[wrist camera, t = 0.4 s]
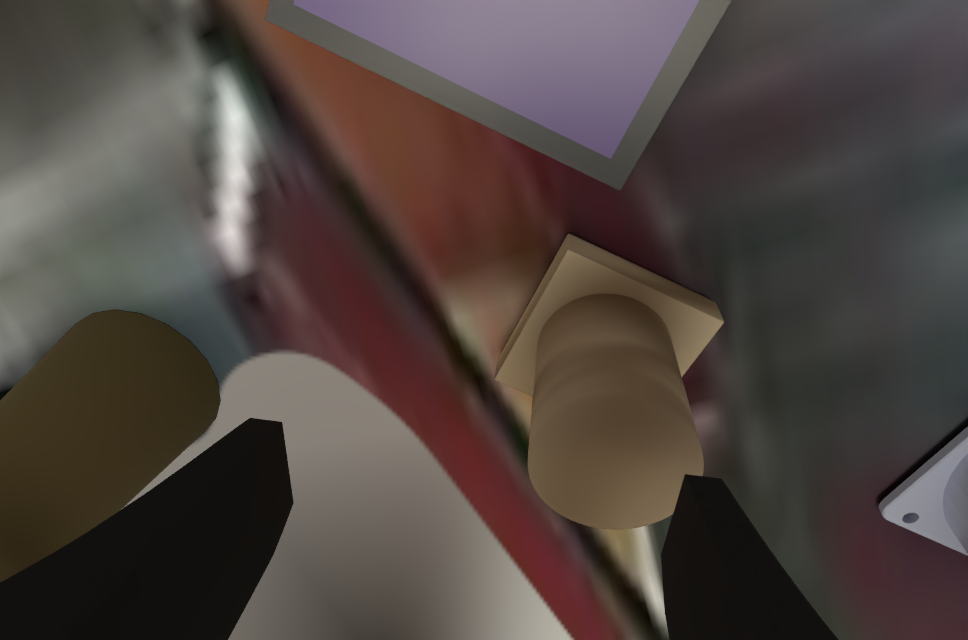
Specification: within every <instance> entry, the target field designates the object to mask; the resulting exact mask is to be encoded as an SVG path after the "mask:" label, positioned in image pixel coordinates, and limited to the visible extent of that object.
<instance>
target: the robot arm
mask: <svg viewBox="0 0 968 640" xmlns="http://www.w3.org/2000/svg"><path fill="white" fill-rule="evenodd" d="M292 505H293V496H292V489H291V482H290V475H289V468H288V461H287V454H286V447H285V440H284V433H283V426H282V422H277V421H270V420H262V419H254V418H249V419H248V420H247V421H245V422H244V423H242V424H241V425H239V426H238V427H237V428H235V429H234V430H233V431H231V432H230V433H228V434H227V435H226V436H224V437H223V438H222V439H220V440H219V441H217V442H216V443H215V444H213V445H212V446H211V447H209V448H208V449H207V450H206V451H204V452H203V453H201V454H200V455H199V456H197V457H196V458H194V459H193V460H192V461H190V462H189V463H188V464H186V465H185V466H183V467H182V468H181V469H179V470H178V471H177V472H175V473H174V474H172V475H171V476H170V477H168V478H167V479H165V480H164V481H163V482H161V483H160V484H158V485H157V486H156V487H154V488H153V489H151V490H150V491H149V492H147V493H146V494H144V495H143V496H141V497H140V498H138V499H137V500H135V501H134V502H132V503H131V504H129V505H128V506H126V507H124V508H123V509H121V510H120V511H118V512H117V513H115V514H114V515H112V516H111V517H109V518H108V519H106V520H105V521H103V522H102V523H100V524H99V525H97V526H96V527H94V528H93V529H91V530H90V531H88V532H87V533H85V534H83V535H82V536H80V537H78V538H77V539H75V540H74V541H72V542H70V543H69V544H67V545H65V546H64V547H62V548H60V549H59V550H57V551H55V552H54V553H52V554H50V555H48V556H47V557H45V558H43V559H41V560H40V561H38V562H36V563H34V564H32V565H31V566H29V567H27V568H25V569H24V570H22V571H20V572H18V573H17V574H15V575H13V576H11V577H9V578H7V579H6V580H4V581H2V582H0V640H228V638H229V636H230V635H231V633H232V631H233V629H234V627H235V625H236V623H237V622H238V620H239V618H240V616H241V614H242V613H243V611H244V609H245V607H246V605H247V603H248V601H249V600H250V598H251V596H252V594H253V592H254V590H255V588H256V586H257V585H258V583H259V581H260V579H261V577H262V575H263V573H264V572H265V570H266V568H267V566H268V564H269V562H270V560H271V558H272V556H273V554H274V552H275V549H276V547H277V544H278V542H279V539H280V537H281V534H282V532H283V529H284V527H285V524H286V521H287V519H288V516H289V513H290V511H291V508H292ZM879 510H880V512H881V514H882V515H883V517H884V518H885V519H886V520H888V521H890V522H892V523H895V524H897V525H899V526H901V527H904V528H906V529H908V530H910V531H913V532H915V533H917V534H920V535H922V536H924V537H926V538H929V539H931V540H933V541H935V542H938V543H940V544H942V545H945V546H947V547H949V548H951V549H954V550H956V551H958V552H961V553H963V554H965V555H967V556H968V427H966V428H965V429H964V430H963V431H962V432H961V433H959V434H958V435H957V436H956V437H955V438H954V439H953V440H951V441H950V442H949V443H948V444H947V445H946V446H944V447H943V448H942V449H941V450H940V451H939V452H937V453H936V454H935V455H934V456H933V457H932V458H930V459H929V460H928V461H927V462H926V463H925V464H924V465H922V466H921V467H920V468H919V469H918V470H917V471H915V472H914V473H913V474H912V475H911V476H910V477H908V478H907V479H906V480H905V481H904V482H903V483H901V484H900V485H899V486H898V487H897V488H896V489H895V490H893V491H892V492H891V493H890V494H889V495H888V496H886V497H885V498H884V499H883V500H882V501H881V502H880V504H879ZM908 513H909V514H908ZM661 560H662V577H663V592H664V605H665V615H666V621H667V627H668V633H669V638H670V640H838V639H837V637H836V636H835V635H834V634H833V632H832V631H831V630H830V629H829V627H828V626H827V625H826V624H825V623H824V621H823V620H822V619H821V617H820V616H819V615H818V614H817V612H816V611H815V610H814V608H813V607H812V606H811V605H810V603H809V602H808V601H807V599H806V598H805V597H804V595H803V594H802V593H801V591H800V590H799V589H798V587H797V586H796V585H795V583H794V582H793V581H792V579H791V578H790V576H789V575H788V574H787V572H786V571H785V570H784V568H783V567H782V566H781V564H780V563H779V562H778V560H777V559H776V557H775V556H774V555H773V553H772V552H771V550H770V549H769V547H768V546H767V545H766V543H765V542H764V540H763V539H762V537H761V536H760V534H759V533H758V532H757V530H756V529H755V527H754V526H753V524H752V523H751V521H750V520H749V518H748V517H747V515H746V514H745V512H744V511H743V509H742V508H741V507H740V505H739V504H738V502H737V501H736V499H735V498H734V496H733V495H732V493H731V492H730V490H729V489H728V487H727V486H726V484H725V483H724V482H723V480H722V479H719V478H711V477H704V476H696V475H688V474H685V475H684V479H683V482H682V486H681V489H680V492H679V496H678V499H677V502H676V506H675V509H674V513H673V516H672V519H671V523H670V526H669V530H668V533H667V536H666V540H665V543H664V547H663V550H662V553H661Z"/></svg>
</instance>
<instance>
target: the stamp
mask: <svg viewBox="0 0 968 640" xmlns="http://www.w3.org/2000/svg"><path fill="white" fill-rule="evenodd" d="M723 323H724V320H723V318H722V316H721V314H720V311H719V309H718V307H717V304H716V302H713V301H711V300H709V298H707V297H705V296H703V295H700V294H698V293H696V292H694V291H692V290H690V289H688V288H685V287H683V286H681V285H679V284H677V283H675V282H673V281H671V280H668V279H666V278H664V277H662V276H660V275H658V274H656V273H653V272H651V271H649V270H647V269H645V268H643V267H641V266H639V265H636V264H634V263H632V262H630V261H628V260H626V259H624V258H621V257H619V256H617V255H615V254H613V253H611V252H609V251H607V250H604V249H602V248H600V247H598V246H596V245H594V244H592V243H589V242H587V241H585V240H583V239H581V238H579V237H577V236H575V235H572V234H570V233H569V234H568V235H567V236H566V238H565V240H564V242H563V244H562V245H561V247H560V249H559V251H558V252H557V254H556V256H555V258H554V260H553V261H552V263H551V265H550V267H549V269H548V270H547V272H546V274H545V276H544V278H543V279H542V281H541V283H540V285H539V286H538V288H537V290H536V292H535V294H534V295H533V297H532V299H531V301H530V303H529V304H528V306H527V308H526V310H525V312H524V313H523V315H522V317H521V319H520V321H519V322H518V324H517V326H516V328H515V329H514V331H513V333H512V335H511V337H510V338H509V340H508V342H507V344H506V346H505V347H504V349H503V351H502V353H501V355H500V356H499V358H498V362H497V368H496V373H495V379H494V380H497V381H499V382H501V383H503V384H506V385H508V386H510V387H513V388H515V389H517V390H520V391H522V392H524V393H527V394H529V395H531V396H533V403H532V415H531V427H530V439H529V451H528V472H529V477H530V480H531V483H532V485H533V487H534V489H535V491H536V492H537V494H538V495H539V496H540V498H541V499H542V500H543V501H544V502H545V503H546V504H547V505H548V506H549V507H550V508H552V509H553V510H554V511H556V512H557V513H559V514H560V515H562V516H564V517H566V518H568V519H570V520H572V521H574V522H577V523H580V524H583V525H587V526H591V527H596V528H602V529H630V528H637V527H642V526H646V525H649V524H653V523H656V522H658V521H660V520H663V519H665V518H667V517H669V516H670V515H672V514H673V513H674V509H675V506H676V502H677V499H678V496H679V492H680V489H681V486H682V482H683V479H684V475H685V474H688V475H696V476H703V470H704V459H703V454H702V449H701V446H700V442H699V438H698V435H697V431H696V428H695V424H694V420H693V417H692V413H691V409H690V406H689V402H688V399H687V395H686V391H685V388H684V384H683V380H682V376H683V375H684V374H685V372H686V371H687V370H688V368H689V367H690V366H691V365H692V363H693V362H694V361H695V359H696V358H697V357H698V356H699V354H700V353H701V352H702V350H703V349H704V348H705V346H706V345H707V344H708V343H709V341H710V340H711V339H712V337H713V336H714V335H715V334H716V332H717V331H718V330H719V328H720V327H721V326H722V325H723Z"/></svg>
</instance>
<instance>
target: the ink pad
mask: <svg viewBox="0 0 968 640" xmlns="http://www.w3.org/2000/svg"><path fill="white" fill-rule="evenodd" d="M730 2H731V0H269V2H268V7H267V11H266V16H265V20H267V21H269V22H271V23H273V24H275V25H277V26H279V27H281V28H283V29H285V30H287V31H289V32H291V33H293V34H296V35H298V36H300V37H302V38H304V39H306V40H308V41H310V42H312V43H314V44H316V45H318V46H320V47H323V48H325V49H327V50H329V51H331V52H333V53H335V54H337V55H339V56H341V57H343V58H345V59H347V60H350V61H352V62H354V63H356V64H358V65H360V66H362V67H364V68H366V69H368V70H370V71H372V72H374V73H377V74H379V75H381V76H383V77H385V78H387V79H389V80H391V81H393V82H395V83H397V84H399V85H401V86H403V87H406V88H408V89H410V90H412V91H414V92H416V93H418V94H420V95H422V96H424V97H426V98H428V99H430V100H433V101H435V102H437V103H439V104H441V105H443V106H445V107H447V108H449V109H451V110H453V111H455V112H457V113H460V114H462V115H464V116H466V117H468V118H470V119H472V120H474V121H476V122H478V123H480V124H482V125H484V126H487V127H489V128H491V129H493V130H495V131H497V132H499V133H501V134H503V135H505V136H507V137H509V138H511V139H513V140H516V141H518V142H520V143H522V144H524V145H526V146H528V147H530V148H532V149H534V150H536V151H538V152H540V153H543V154H545V155H547V156H549V157H551V158H553V159H555V160H557V161H559V162H561V163H563V164H565V165H567V166H570V167H572V168H574V169H576V170H578V171H580V172H582V173H584V174H586V175H588V176H590V177H592V178H594V179H597V180H599V181H601V182H603V183H605V184H607V185H609V186H611V187H613V188H615V189H617V190H619V191H620V190H621V189H622V187H623V185H624V183H625V182H626V180H627V178H628V177H629V175H630V173H631V171H632V170H633V168H634V166H635V165H636V163H637V161H638V159H639V158H640V156H641V154H642V153H643V151H644V149H645V148H646V146H647V144H648V142H649V141H650V139H651V137H652V136H653V134H654V132H655V130H656V129H657V127H658V125H659V124H660V122H661V120H662V118H663V117H664V115H665V113H666V112H667V110H668V108H669V106H670V105H671V103H672V101H673V100H674V98H675V96H676V95H677V93H678V91H679V89H680V88H681V86H682V84H683V83H684V81H685V79H686V77H687V76H688V74H689V72H690V71H691V69H692V67H693V65H694V64H695V62H696V60H697V59H698V57H699V55H700V53H701V52H702V50H703V48H704V47H705V45H706V43H707V42H708V40H709V38H710V36H711V35H712V33H713V31H714V30H715V28H716V26H717V24H718V23H719V21H720V19H721V18H722V16H723V14H724V12H725V11H726V9H727V7H728V6H729V4H730Z"/></svg>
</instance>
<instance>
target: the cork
mask: <svg viewBox="0 0 968 640" xmlns="http://www.w3.org/2000/svg"><path fill="white" fill-rule="evenodd" d="M220 401H221V400H220V394H219V388H218V381H217V379H216V377H215V375H214V373H213V371H212V369H211V367H210V365H209V363H208V362H207V360H206V359H205V357H204V356H203V355H202V354H201V353H200V352H199V351H198V350H197V349H196V347H195V346H194V345H193V344H192V343H191V342H190V341H189V340H188V339H187V338H185V337H184V336H182V335H181V334H179V333H178V332H177V331H175V330H174V329H172V328H171V327H169V326H168V325H167V324H165V323H162V322H160V321H157V320H155V319H153V318H150V317H148V316H145V315H143V314H140V313H134V312H127V311H120V310H110V311H104V312H98V313H92V314H91V315H89V316H87V317H86V318H84V319H83V320H81V321H79V322H78V323H76V324H75V325H74V326H73V327H72V328H71V329H70V330H69V331H68V332H67V333H66V334H65V335H64V336H63V337H62V338H61V339H60V340H59V341H58V342H57V343H56V344H55V345H54V346H53V347H52V349H51V350H50V351H49V352H48V353H47V354H46V355H45V356H44V357H43V358H42V359H41V360H40V361H39V362H38V363H37V364H36V365H35V366H34V367H33V368H32V369H31V370H30V371H29V372H28V373H27V374H26V375H25V376H24V377H23V378H22V379H21V380H20V381H19V382H18V383H17V384H16V385H15V386H14V387H13V388H12V389H11V390H10V391H9V392H8V393H7V394H6V395H5V396H4V397H3V398H2V400H1V401H0V582H2V581H4V580H6V579H7V578H9V577H11V576H13V575H15V574H17V573H18V572H20V571H22V570H24V569H25V568H27V567H29V566H31V565H32V564H34V563H36V562H38V561H40V560H41V559H43V558H45V557H47V556H48V555H50V554H52V553H54V552H55V551H57V550H59V549H60V548H62V547H64V546H65V545H67V544H69V543H70V542H72V541H74V540H75V539H77V538H78V537H80V536H82V535H83V534H85V533H87V532H88V531H90V530H91V529H93V528H94V527H96V526H97V525H99V524H100V523H102V522H103V521H105V520H106V519H108V518H109V517H111V516H112V515H114V514H115V513H117V512H118V511H120V510H121V509H122V508H123V507H124V506H125V505H126V504H127V503H128V502H129V501H131V500H132V499H133V498H134V497H135V496H136V495H137V494H138V493H139V492H140V491H141V490H142V489H143V488H144V487H146V486H147V485H148V484H149V483H150V482H151V481H152V480H153V479H154V478H155V477H156V476H157V475H158V474H159V473H161V472H162V471H163V470H164V469H165V468H166V467H167V466H168V465H169V464H170V463H171V462H172V461H173V460H175V459H176V458H177V457H178V456H179V455H180V454H181V453H182V452H183V451H184V450H185V449H186V448H187V447H189V446H190V445H191V444H192V443H193V442H194V441H195V440H196V439H197V438H198V437H199V436H200V435H201V434H202V433H204V432H205V431H206V429H207V428H208V427H209V426H210V425H211V424H212V422H213V421H214V420H215V419H216V417H217V413H218V409H219V405H220Z"/></svg>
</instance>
